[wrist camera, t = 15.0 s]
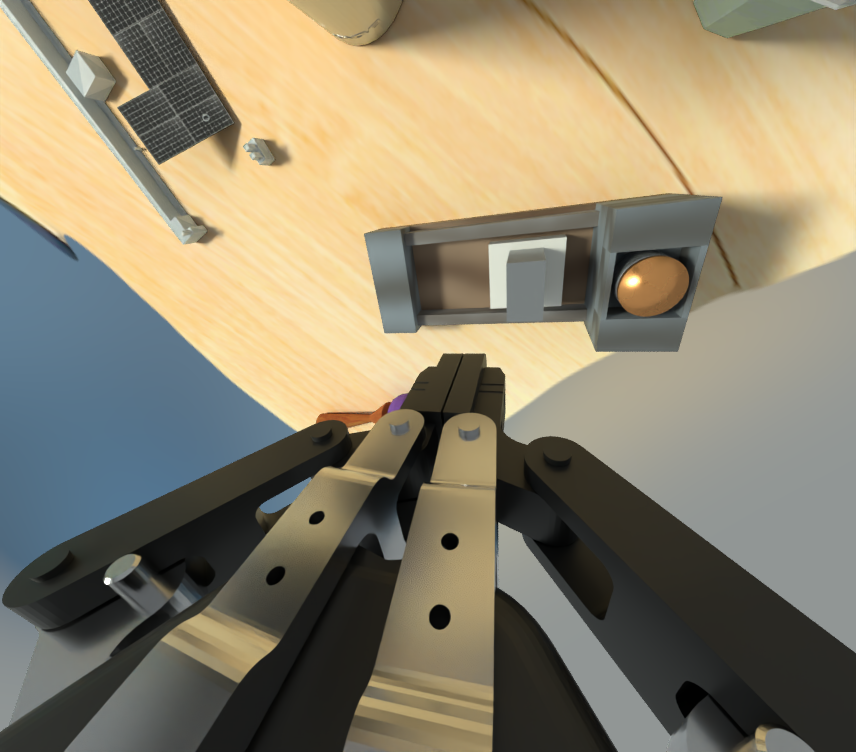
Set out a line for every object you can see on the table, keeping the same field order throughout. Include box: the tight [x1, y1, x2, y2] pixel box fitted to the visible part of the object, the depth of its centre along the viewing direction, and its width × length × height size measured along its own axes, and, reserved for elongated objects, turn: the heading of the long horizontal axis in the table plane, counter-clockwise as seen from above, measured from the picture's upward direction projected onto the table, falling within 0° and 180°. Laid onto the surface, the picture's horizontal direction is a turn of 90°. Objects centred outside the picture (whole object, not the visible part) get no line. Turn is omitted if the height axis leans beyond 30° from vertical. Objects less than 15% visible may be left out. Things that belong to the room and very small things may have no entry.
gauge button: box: [611, 250, 689, 317], centre depth 25 cm, size 4×4×4 cm
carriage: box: [489, 234, 567, 322], centre depth 29 cm, size 6×7×8 cm
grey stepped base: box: [364, 193, 722, 352], centre depth 31 cm, size 11×28×10 cm, turn 97°
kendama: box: [316, 393, 408, 428], centre depth 49 cm, size 6×6×20 cm
